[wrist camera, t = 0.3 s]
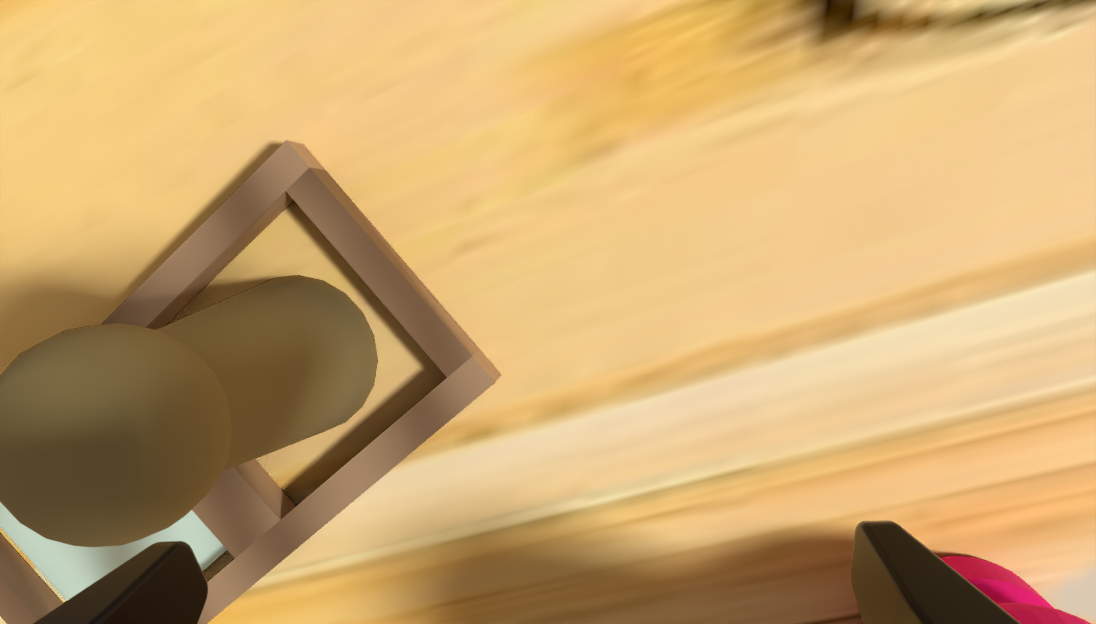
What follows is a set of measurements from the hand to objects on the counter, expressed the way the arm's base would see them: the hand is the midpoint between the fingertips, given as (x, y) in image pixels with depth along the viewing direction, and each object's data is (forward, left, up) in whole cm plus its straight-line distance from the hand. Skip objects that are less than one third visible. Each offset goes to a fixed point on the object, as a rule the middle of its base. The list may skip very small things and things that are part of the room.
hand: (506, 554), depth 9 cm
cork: (-7, +8, -15) cm, 18 cm away
